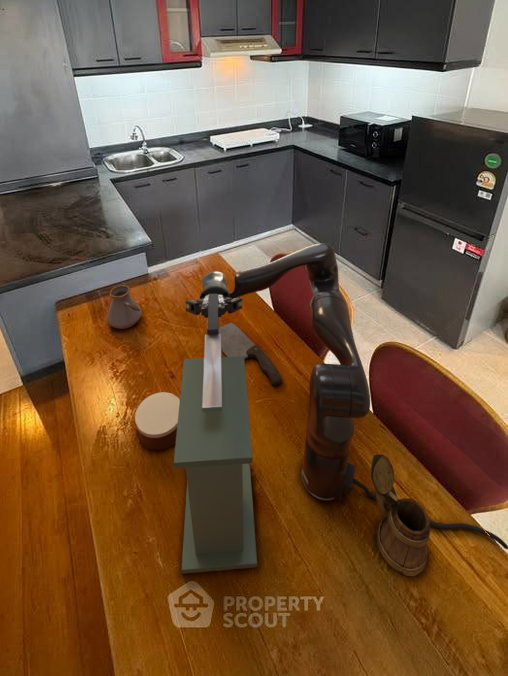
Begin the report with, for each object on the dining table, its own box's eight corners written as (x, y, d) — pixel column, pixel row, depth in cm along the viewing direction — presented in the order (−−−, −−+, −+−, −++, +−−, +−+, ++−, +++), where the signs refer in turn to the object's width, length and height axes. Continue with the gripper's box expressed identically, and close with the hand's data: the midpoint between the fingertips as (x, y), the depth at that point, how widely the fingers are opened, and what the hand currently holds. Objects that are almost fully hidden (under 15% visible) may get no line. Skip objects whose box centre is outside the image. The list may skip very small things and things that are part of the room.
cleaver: (289, 379, 109) (289, 374, 108) (262, 397, 104) (262, 391, 103) (230, 322, 130) (230, 317, 130) (206, 335, 125) (206, 330, 124)
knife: (206, 301, 85) (206, 294, 84) (220, 301, 85) (220, 293, 84) (202, 412, 61) (201, 402, 60) (222, 410, 61) (221, 401, 60)
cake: (192, 417, 98) (191, 401, 96) (167, 459, 89) (164, 442, 86) (156, 402, 103) (154, 386, 100) (128, 439, 93) (125, 423, 91)
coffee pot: (102, 319, 132) (95, 284, 125) (134, 305, 138) (128, 271, 132) (127, 356, 117) (120, 319, 110) (161, 339, 123) (156, 302, 117)
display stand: (189, 458, 89) (178, 359, 75) (248, 454, 90) (249, 355, 76) (182, 574, 70) (166, 470, 56) (257, 567, 71) (259, 463, 57)
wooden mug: (373, 491, 83) (386, 438, 75) (434, 549, 74) (457, 496, 66) (348, 522, 78) (360, 469, 70) (411, 589, 68) (432, 537, 61)
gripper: (186, 284, 95) (178, 295, 78) (242, 282, 96) (245, 292, 79) (187, 315, 95) (179, 332, 77) (243, 312, 96) (247, 329, 78)
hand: (213, 312), depth 78 cm, fingers closed on knife, 2 cm apart
